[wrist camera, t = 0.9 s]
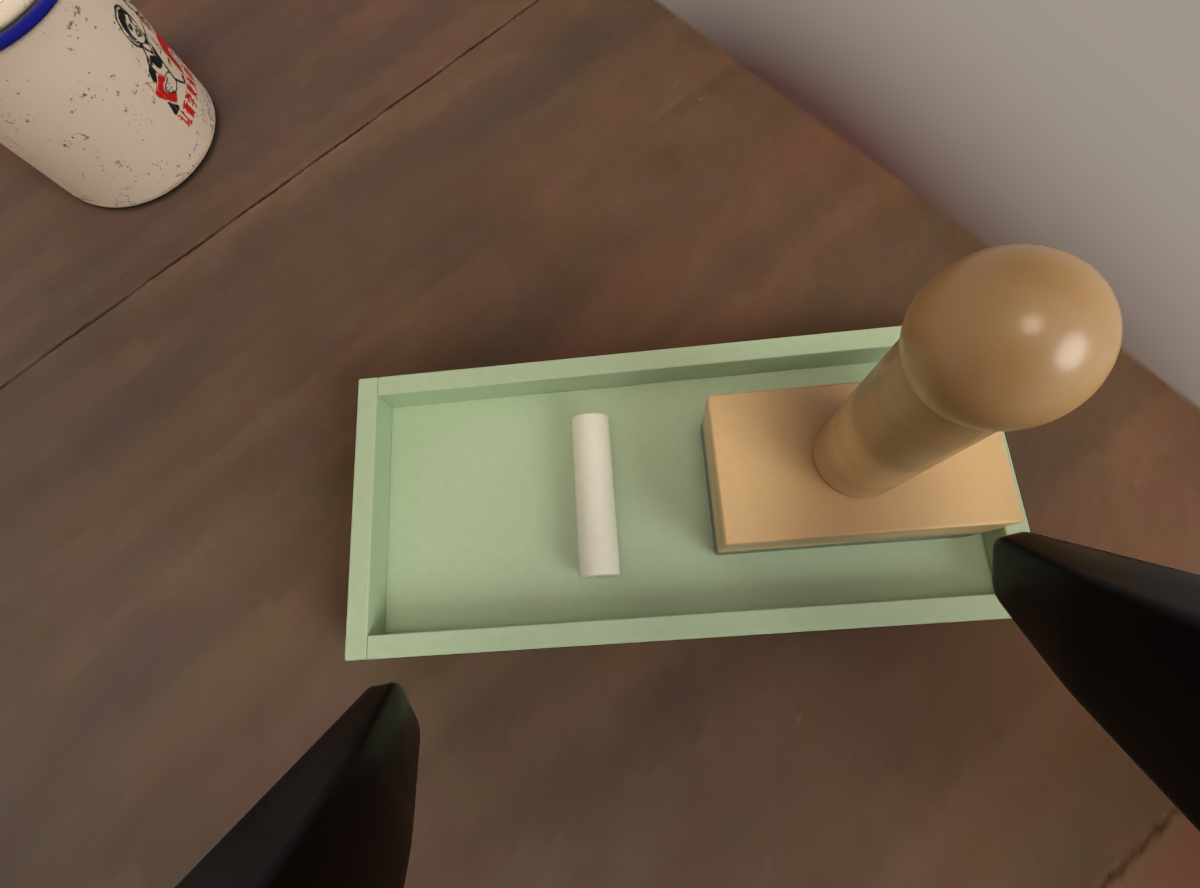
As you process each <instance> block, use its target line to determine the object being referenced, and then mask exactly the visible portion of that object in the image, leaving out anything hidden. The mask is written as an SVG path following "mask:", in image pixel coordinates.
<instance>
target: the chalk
mask: <svg viewBox="0 0 1200 888" xmlns="http://www.w3.org/2000/svg"><path fill="white" fill-rule="evenodd" d="M571 435H572V454H573V472H574V491H575V509H576V528H577V546H578V565H579V577H580V578H603V577H613V576H619V575H620V574H621V571H620V558H619V544H618V530H617V517H616V503H615V489H614V476H613V462H612V448H611V434H610V421H609V417H608V416H607V415H605V414H601V413H584V414H580V415H576V416H574V417H573V418H572V419H571Z"/></svg>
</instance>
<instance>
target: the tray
mask: <svg viewBox="0 0 1200 888" xmlns="http://www.w3.org/2000/svg"><path fill="white" fill-rule="evenodd" d="M901 327H902V326H894V327H884V328H874V329H864V330H853V331H843V332H833V333H823V334H813V335H803V336H793V337H782V338H772V339H762V340H752V341H742V342H732V343H722V344H712V345H701V346H691V347H681V348H671V349H661V350H651V351H641V352H630V353H620V354H610V355H600V356H590V357H580V358H570V359H559V360H549V361H539V362H529V363H519V364H509V365H499V366H488V367H478V368H468V369H458V370H448V371H438V372H428V373H417V374H407V375H397V376H387V377H379V378H367V379H359V387H358V407H357V426H356V446H355V466H354V486H353V505H352V525H351V545H350V565H349V584H348V604H347V624H346V644H345V660H346V661H351V660H366V659H382V658H398V657H414V656H429V655H445V654H461V653H476V652H492V651H508V650H523V649H539V648H554V647H570V646H586V645H601V644H617V643H633V642H648V641H664V640H680V639H695V638H711V637H727V636H742V635H758V634H773V633H789V632H805V631H820V630H836V629H852V628H867V627H883V626H899V625H914V624H930V623H945V622H961V621H977V620H992V619H1008V618H1011V616H1010V615H1009V614H1008V613H1007V611H1006V610H1005V609H1004V607H1003V606H1002V605H1001V603H1000V602H999V601H998V599H997V597H996V595H995V593H994V590H993V586H992V556H993V544H994V541H995V540H996V539H997V538H999V537H1001V536H1006V535H1010V534H1014V533H1018V532H1030V529H1029V525H1028V522H1027V518H1026V514H1025V510H1024V506H1023V503H1022V499H1021V495H1020V491H1019V487H1018V484H1017V480H1016V476H1015V472H1014V468H1013V465H1012V461H1011V457H1010V453H1009V449H1008V446H1007V442H1006V438H1005V434H1004V431H1001V434H1002V438H1003V441H1004V445H1005V449H1006V453H1007V457H1008V461H1009V464H1010V468H1011V472H1012V476H1013V480H1014V483H1015V487H1016V491H1017V495H1018V499H1019V503H1020V506H1021V510H1022V514H1023V518H1024V522H1022V523H1019V524H1015V525H1011V526H1007V527H1003V528H999V529H996V530H992V531H988V532H984V533H979V534H976V535H972V536H968V537H959V538H946V539H932V540H919V541H905V542H891V543H878V544H864V545H851V546H837V547H823V548H810V549H796V550H783V551H769V552H756V553H742V554H728V555H716V554H715V551H714V542H713V533H712V525H711V516H710V507H709V499H708V490H707V482H706V473H705V464H704V456H703V447H702V439H701V430H700V428H701V423H702V419H703V414H704V410H705V405H706V401H707V397H708V396H711V395H722V394H732V393H743V392H754V391H765V390H776V389H786V388H797V387H808V386H819V385H830V384H840V383H851V382H862V381H863V380H864V379H865V377H866V376H867V375H868V374H869V373H870V372H871V370H872V369H873V368H874V367H875V366H876V365H877V364H878V362H879V361H880V360H881V359H882V358H883V357H884V355H885V354H886V353H887V352H888V351H889V350H890V349H891V347H892V346H893V345H894V344H895V343H896V342H897V340H898V339H899V338H900V332H901ZM584 413H601V414H605V415H607V416H608V417H609V421H610V434H611V448H612V462H613V476H614V489H615V503H616V517H617V530H618V544H619V558H620V571H621V574H620V575H619V576H613V577H603V578H580V577H579V565H578V546H577V528H576V509H575V491H574V472H573V454H572V435H571V419H572V418H573V417H574V416H576V415H580V414H584Z"/></svg>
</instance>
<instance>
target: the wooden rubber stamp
mask: <svg viewBox="0 0 1200 888" xmlns="http://www.w3.org/2000/svg"><path fill="white" fill-rule="evenodd" d="M1121 342H1122V314H1121V310H1120V307H1119V303H1118V301H1117V299H1116V296H1115V294H1114V292H1113V291H1112V289H1111V287H1110V285H1109V284H1108V283H1107V281H1106V280H1105V279H1104V278H1103V276H1101V274H1100V273H1099V272H1098V271H1097V270H1096V269H1094V268H1093V267H1092V266H1091V265H1090V264H1088V263H1087V262H1085V261H1083V260H1082V259H1081V258H1079V257H1077V256H1075V255H1073V254H1071V253H1068V252H1066V251H1063V250H1060V249H1057V248H1054V247H1050V246H1045V245H1039V244H1028V243H1017V244H1004V245H998V246H993V247H988V248H985V249H981V250H978V251H975V252H973V253H970V254H968V255H966V256H963V257H961V258H959V259H957V260H956V261H954V262H952V263H950V264H949V265H947V266H946V267H944V268H943V269H942V270H940V271H939V272H938V273H937V274H935V275H934V276H933V277H932V278H931V279H930V280H929V281H928V282H927V283H926V284H925V285H924V286H923V287H922V288H921V289H920V291H919V292H918V294H917V295H916V296H915V298H914V299H913V301H912V303H911V304H910V306H909V308H908V310H907V312H906V315H905V318H904V321H903V324H902V327H901V332H900V338H899V339H898V340H897V342H896V343H895V344H894V345H893V346H892V347H891V349H890V350H889V351H888V352H887V353H886V354H885V355H884V357H883V358H882V359H881V360H880V361H879V362H878V364H877V365H876V366H875V367H874V368H873V369H872V370H871V372H870V373H869V374H868V375H867V376H866V377H865V379H864V380H863V381H862V382H851V383H840V384H830V385H819V386H808V387H797V388H786V389H776V390H765V391H754V392H743V393H732V394H722V395H711V396H708V397H707V401H706V405H705V410H704V414H703V419H702V423H701V428H700V430H701V439H702V447H703V456H704V464H705V473H706V482H707V490H708V499H709V507H710V516H711V525H712V533H713V542H714V551H715V554H716V555H728V554H742V553H756V552H769V551H783V550H796V549H810V548H823V547H837V546H851V545H864V544H878V543H891V542H905V541H919V540H932V539H946V538H959V537H968V536H972V535H976V534H979V533H984V532H988V531H992V530H996V529H999V528H1003V527H1007V526H1011V525H1015V524H1019V523H1022V522H1024V518H1023V514H1022V510H1021V506H1020V503H1019V499H1018V495H1017V491H1016V487H1015V483H1014V480H1013V476H1012V472H1011V468H1010V464H1009V461H1008V457H1007V453H1006V449H1005V445H1004V441H1003V438H1002V434H1001V431H1016V430H1023V429H1029V428H1033V427H1036V426H1040V425H1043V424H1046V423H1049V422H1051V421H1053V420H1056V419H1058V418H1060V417H1062V416H1064V415H1066V414H1067V413H1069V412H1071V411H1072V410H1074V409H1075V408H1077V407H1079V406H1080V405H1081V404H1082V403H1084V402H1085V401H1086V400H1087V399H1088V398H1090V397H1091V396H1092V395H1093V394H1094V393H1095V392H1096V391H1097V390H1098V388H1099V387H1100V386H1101V385H1102V384H1103V382H1104V381H1105V379H1106V378H1107V376H1108V375H1109V373H1110V372H1111V370H1112V368H1113V366H1114V364H1115V362H1116V359H1117V357H1118V354H1119V351H1120V346H1121Z"/></svg>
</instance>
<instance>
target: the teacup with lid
mask: <svg viewBox="0 0 1200 888" xmlns="http://www.w3.org/2000/svg"><path fill="white" fill-rule="evenodd" d="M214 130H215V110H214V106H213V103H212V100H211V98H210V96H209V94H208V92H207V91H206V89H205V88H204V86H203V85H202V84H201V83H200V82H199V80H198V79H197V78H196V77H195V76H194V75H193V73H192V72H191V71H190V70H189V69H188V68H187V66H186V65H185V64H184V63H183V62H182V61H181V60H180V58H179V57H178V56H177V55H176V54H175V53H174V51H173V50H172V49H171V48H170V47H169V46H168V44H167V43H166V42H165V41H164V40H163V39H162V37H161V36H160V35H159V34H158V33H157V32H156V30H155V29H154V28H153V27H152V26H151V25H150V23H149V22H148V21H147V20H146V19H145V18H144V16H143V15H142V14H141V13H140V12H139V11H138V10H137V8H136V7H135V6H134V5H133V4H132V3H131V1H130V0H0V143H1V144H3V145H4V146H5V147H7V148H8V149H9V150H11V151H12V152H14V153H15V154H16V155H18V156H19V157H21V158H22V159H23V160H25V161H26V162H28V163H29V164H30V165H32V166H33V167H35V168H36V169H37V170H39V171H40V172H42V173H43V174H44V175H46V176H47V177H48V178H50V179H51V180H53V181H54V182H55V183H57V184H58V185H60V186H61V187H62V188H64V189H65V190H67V191H68V192H69V193H71V194H72V195H74V196H75V197H77V198H79V199H80V200H82V201H84V202H87V203H90V204H93V205H97V206H102V207H111V208H117V207H130V206H135V205H139V204H142V203H146V202H148V201H151V200H154V199H156V198H158V197H160V196H162V195H164V194H166V193H167V192H169V191H171V190H172V189H174V188H175V187H177V186H178V185H179V184H180V183H182V182H183V181H184V180H185V179H186V178H187V177H188V176H189V175H190V174H191V173H192V172H193V171H194V170H195V169H196V168H197V167H198V165H199V164H200V162H201V161H202V160H203V158H204V156H205V155H206V153H207V151H208V149H209V147H210V145H211V142H212V139H213V135H214Z"/></svg>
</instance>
